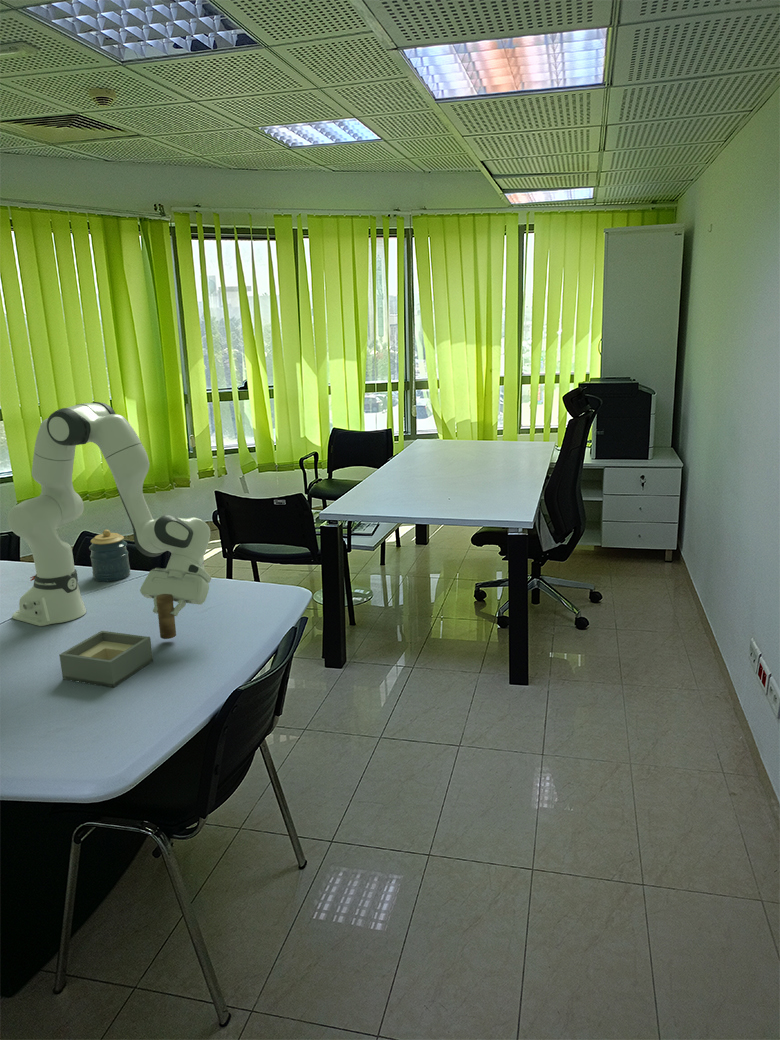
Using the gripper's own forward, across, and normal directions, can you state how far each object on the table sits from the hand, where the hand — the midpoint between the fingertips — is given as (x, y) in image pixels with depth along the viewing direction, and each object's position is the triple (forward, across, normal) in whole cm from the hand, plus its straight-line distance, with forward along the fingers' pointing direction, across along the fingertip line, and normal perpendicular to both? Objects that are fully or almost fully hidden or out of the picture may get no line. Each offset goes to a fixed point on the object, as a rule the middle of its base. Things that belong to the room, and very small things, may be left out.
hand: (164, 614), depth 214 cm
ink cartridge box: (-25, -20, +38) cm, 50 cm away
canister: (-25, -55, +39) cm, 72 cm away
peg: (+4, 0, +5) cm, 7 cm away
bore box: (+20, -5, -7) cm, 22 cm away
